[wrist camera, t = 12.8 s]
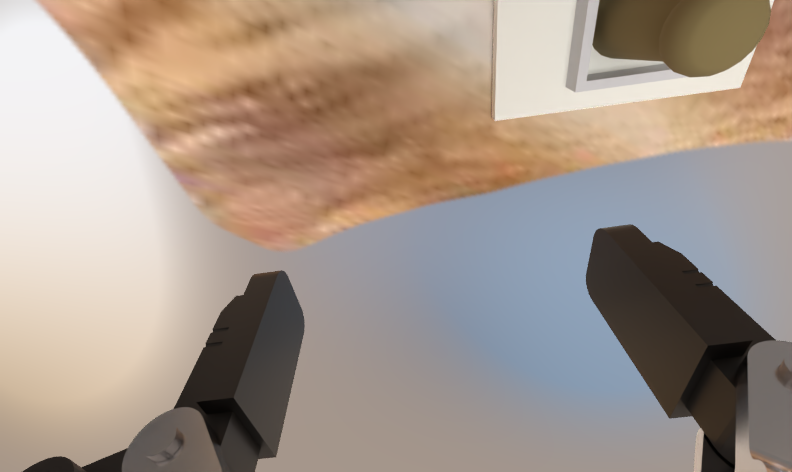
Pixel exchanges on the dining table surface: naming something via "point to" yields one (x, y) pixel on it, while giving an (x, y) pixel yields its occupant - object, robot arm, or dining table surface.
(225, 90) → the dining table surface
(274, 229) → the dining table surface
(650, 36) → the olive tall rounded piece
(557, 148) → the dining table surface
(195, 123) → the dining table surface
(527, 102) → the board
